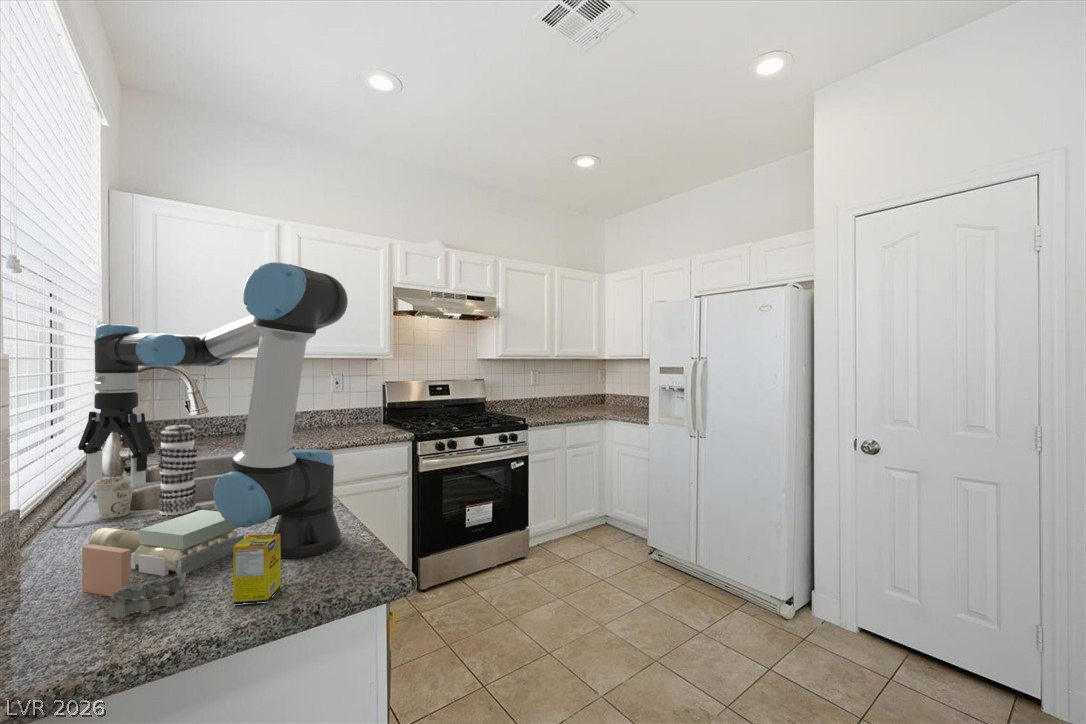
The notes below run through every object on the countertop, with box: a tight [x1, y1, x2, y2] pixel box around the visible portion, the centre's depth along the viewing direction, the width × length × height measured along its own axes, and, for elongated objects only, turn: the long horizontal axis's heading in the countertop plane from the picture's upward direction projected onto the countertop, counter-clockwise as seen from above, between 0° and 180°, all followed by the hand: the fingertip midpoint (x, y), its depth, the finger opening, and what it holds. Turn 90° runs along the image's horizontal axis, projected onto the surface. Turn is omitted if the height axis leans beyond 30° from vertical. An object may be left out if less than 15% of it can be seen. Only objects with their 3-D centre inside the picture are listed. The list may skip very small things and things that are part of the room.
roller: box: [88, 527, 141, 554], centre depth 109 cm, size 9×5×5 cm, turn 76°
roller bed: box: [130, 530, 245, 576], centre depth 105 cm, size 14×16×5 cm
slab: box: [138, 509, 240, 550], centre depth 106 cm, size 12×14×3 cm
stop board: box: [81, 544, 131, 598], centre depth 90 cm, size 10×2×8 cm, turn 76°
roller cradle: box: [130, 554, 170, 584], centre depth 95 cm, size 7×8×4 cm
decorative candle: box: [157, 424, 198, 517], centre depth 138 cm, size 9×9×25 cm
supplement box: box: [232, 533, 282, 605], centre depth 88 cm, size 6×6×11 cm
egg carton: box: [107, 573, 187, 619], centre depth 86 cm, size 11×8×4 cm
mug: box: [94, 476, 134, 520], centre depth 135 cm, size 8×13×10 cm, turn 58°
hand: (115, 483), depth 109 cm, fingers open, 13 cm apart
